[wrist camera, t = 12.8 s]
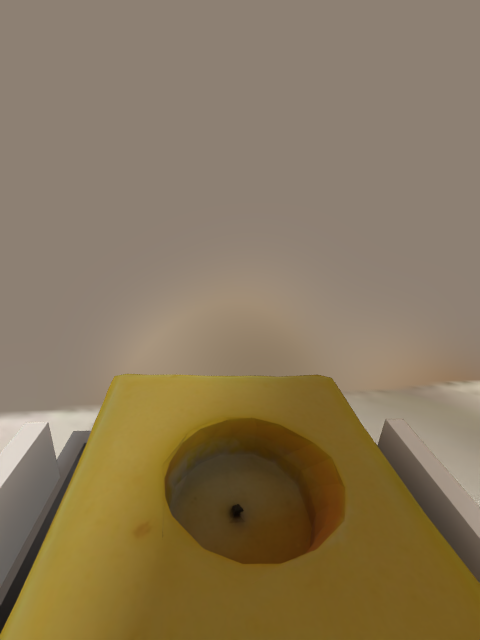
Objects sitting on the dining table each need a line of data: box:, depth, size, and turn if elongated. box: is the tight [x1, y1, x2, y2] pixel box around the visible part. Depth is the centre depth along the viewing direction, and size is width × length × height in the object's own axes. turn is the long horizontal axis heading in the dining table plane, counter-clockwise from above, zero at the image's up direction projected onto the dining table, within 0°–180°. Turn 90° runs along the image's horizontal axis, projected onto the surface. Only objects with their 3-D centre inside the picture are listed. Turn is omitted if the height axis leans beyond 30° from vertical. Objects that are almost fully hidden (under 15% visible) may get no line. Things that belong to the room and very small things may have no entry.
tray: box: [0, 431, 91, 634], centre depth 12 cm, size 18×18×4 cm
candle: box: [0, 374, 480, 640], centre depth 11 cm, size 10×10×10 cm
